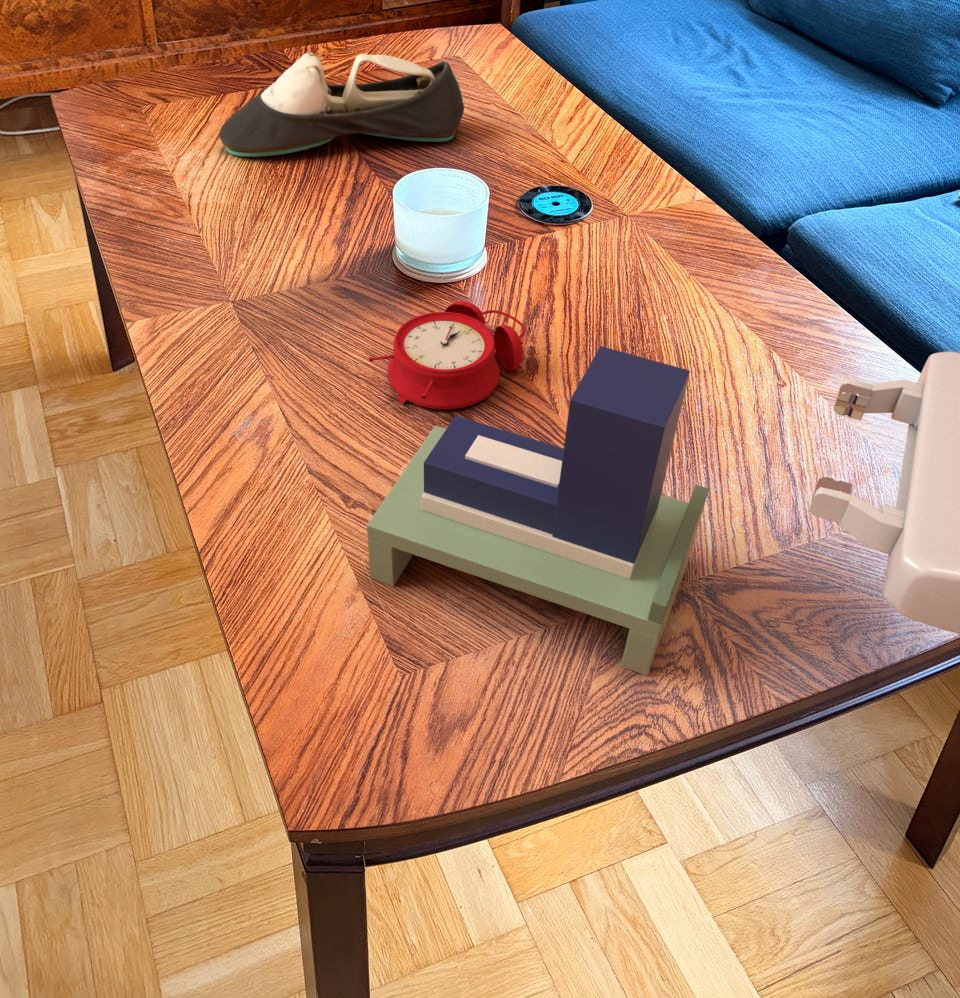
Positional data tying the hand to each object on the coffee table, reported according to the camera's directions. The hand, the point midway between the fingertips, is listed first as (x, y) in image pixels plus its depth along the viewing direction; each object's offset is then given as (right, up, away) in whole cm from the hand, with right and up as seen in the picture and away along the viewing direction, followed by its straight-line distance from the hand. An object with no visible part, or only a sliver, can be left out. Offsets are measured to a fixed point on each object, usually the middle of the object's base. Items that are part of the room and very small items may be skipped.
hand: (826, 442), depth 59 cm
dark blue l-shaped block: (-16, -4, +15) cm, 22 cm away
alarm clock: (-23, +9, +36) cm, 43 cm away
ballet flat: (-37, +42, +67) cm, 87 cm away
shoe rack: (-16, -9, +19) cm, 26 cm away
